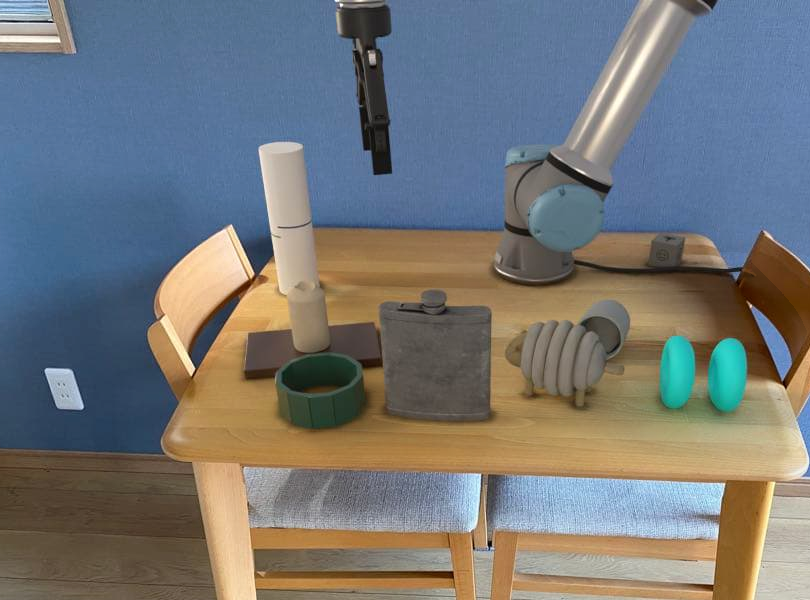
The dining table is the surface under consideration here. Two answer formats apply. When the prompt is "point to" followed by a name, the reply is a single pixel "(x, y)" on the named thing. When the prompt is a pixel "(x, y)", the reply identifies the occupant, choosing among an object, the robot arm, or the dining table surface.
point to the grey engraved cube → (666, 250)
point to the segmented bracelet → (320, 406)
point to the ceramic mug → (608, 324)
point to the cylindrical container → (289, 213)
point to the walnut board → (278, 348)
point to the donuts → (722, 374)
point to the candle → (308, 317)
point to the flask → (436, 359)
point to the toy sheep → (560, 359)
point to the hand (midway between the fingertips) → (377, 161)
